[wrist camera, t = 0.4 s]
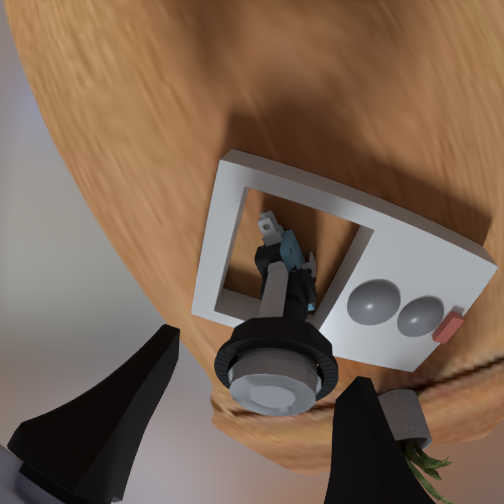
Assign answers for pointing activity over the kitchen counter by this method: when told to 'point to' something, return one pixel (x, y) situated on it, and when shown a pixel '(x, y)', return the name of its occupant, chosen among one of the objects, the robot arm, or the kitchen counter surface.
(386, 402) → the house plant
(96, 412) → the robot arm
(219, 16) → the kitchen counter surface
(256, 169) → the control panel
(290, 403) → the push button
